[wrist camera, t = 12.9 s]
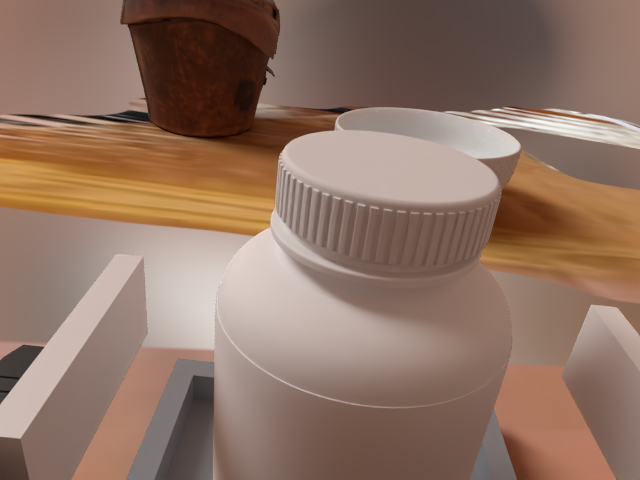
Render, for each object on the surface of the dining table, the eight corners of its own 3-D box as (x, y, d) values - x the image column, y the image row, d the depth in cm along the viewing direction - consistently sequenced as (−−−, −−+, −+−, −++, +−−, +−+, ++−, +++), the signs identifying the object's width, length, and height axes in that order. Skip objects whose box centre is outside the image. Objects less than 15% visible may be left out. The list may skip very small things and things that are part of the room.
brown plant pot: (191, 158, 55) (191, -35, 47) (96, 112, 67) (83, -51, 58) (309, 136, 68) (325, -21, 59) (212, 100, 79) (214, -36, 71)
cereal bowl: (484, 179, 59) (501, 117, 56) (520, 249, 45) (545, 170, 41) (333, 159, 60) (341, 96, 57) (319, 222, 45) (328, 142, 42)
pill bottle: (403, 458, 23) (488, 125, 17) (460, 674, 16) (649, 252, 10) (221, 457, 23) (229, 103, 16) (198, 687, 15) (196, 226, 9)
